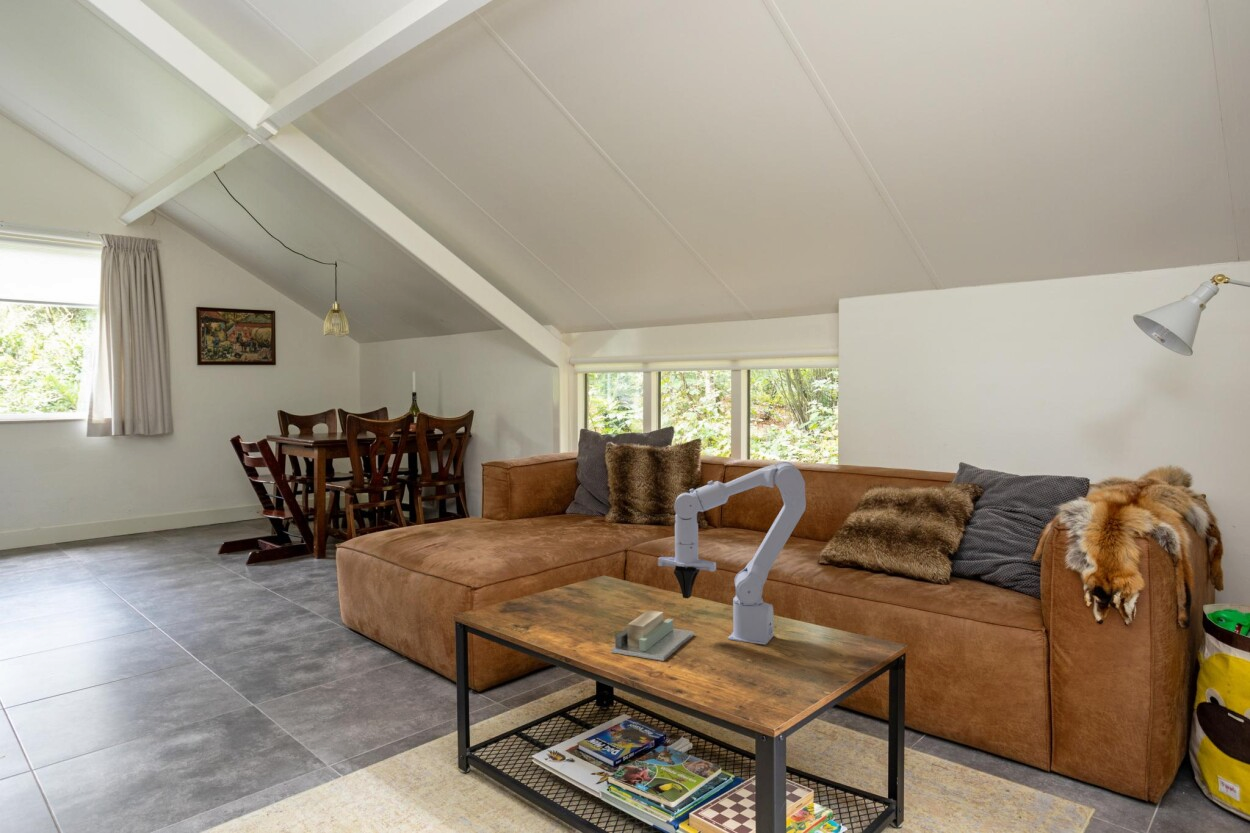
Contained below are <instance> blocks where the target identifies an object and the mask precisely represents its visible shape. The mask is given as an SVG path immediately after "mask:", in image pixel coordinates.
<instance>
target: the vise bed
mask: <svg viewBox="0 0 1250 833" xmlns="http://www.w3.org/2000/svg"><path fill="white" fill-rule="evenodd" d="M694 635H695V634H694V630H687V629H682V628H681V629H680V628H676V627H675V628H674V629H673V630H672V631H671V632H669V633H668V634H667V635H666V636H664V637H663V638H662V639H661V640H659V641H658V642H657V643H655V644H654V645H653V646H652V647H650V648H649V649H648V650H647V651H639V647H634V646H628V631H627V627H626V628H625V629H623V630H622V631H621V632H619V633H618V634H616V635H615V638H614V640H615V642H614V643H615V645H614V646H612V647H611V653H612V654H618V655H619V654H620V655H624V656H625V655H626V656H631V657H637V658H642V659H649V660H655V661H660V662H661V661H662V662H664V661H665V660H666V659H667V658H669V657H670V656H671V655H672V654H674V653H675V652H676V651H677V650H678V649H679V648H680V647H682V646H683V645H684V644H685V643H687V641H689V640H690V639H691V638H692V637H693V636H694Z"/></svg>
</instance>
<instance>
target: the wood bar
mask: <svg viewBox="0 0 1250 833" xmlns="http://www.w3.org/2000/svg"><path fill="white" fill-rule="evenodd" d="M663 622H664V612H663V611H658V610H650V609H649V610H646V611H645V612H644V613H642V614H640V615H639V616H638V617H635V619H633V620H632V621H630V622H629V623H627V625H626V626H627V627H626V628H627V631H628V646H634V647H639V639H641V638H642V637H644V636H645V635H646V634H648V633H649V632H650V631H652V630H653V629H654V628H656V627H657V626H658V625H660V624H661V623H663Z"/></svg>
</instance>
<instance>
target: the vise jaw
mask: <svg viewBox="0 0 1250 833" xmlns="http://www.w3.org/2000/svg"><path fill="white" fill-rule="evenodd" d="M673 629H674V619H673V618H667V619H665V620H663V623H661V624H660V625H658V626H657V627H656V628H654V629H653V630H652V631H650V632H649V633H648V634H646V635H645V636H644V637H642V638H641V639H639V651H647V650H648V649H649V648H650V647H652V646H653V645H654V644H655V643H657V642H658V641H659V640H661V639H662V638H663V637H664V636H666V635H667V634H668V633H669V632H671V631H672V630H673Z"/></svg>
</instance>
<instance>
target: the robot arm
mask: <svg viewBox="0 0 1250 833" xmlns="http://www.w3.org/2000/svg"><path fill="white" fill-rule="evenodd" d="M774 484H775V486H776V487H777V488H778V490H779V491H780V495H781V499H782V501H783V506H782V507H781V510H780V511H779V513H778V514H777V516H776V517H775V519H774V521H773V522H772V524H771V526H770V528H769V530H768V531H767V533H766V535H765V537H764V538H763V540H762V542H761V544H760V545H759V546H758V548H757V550H756V552H755V554H754V555H753V557H752V559H751V560H750V561H749V562H747V564H746V565H745V567H744V568H743V569H742V570H741V571H739V572H737V573H736V575H735V577H734V582H733V584H734V586H735V596H734V597H733V598H732V602H733V604H732V606H733V607H732V608H733V609H732V610H733V612H732V616H733V621H732V622H733V623H732V624H733V626H732V628H733V630H732V631H733V632H731V634H730V635H729V636H728V637H727V639H728V640H730V641H735V642H736V641H737V642H744V643H752V644H758V645H767V644H768V643H769V642H770V641H771V639H772V638H773V637H774V636H775V633H774V606H773V604H772V603H769V602H768V603H766V602H765V601H764V599H763V597H762V596H763V588H764V585H765V584H766V582H767V578H768V575H769V572H770V570H771V568H772V567H773V565H774V563H776V560H777V559H778V558H779V555H780V554H781V551H782V550H783V548H784V546H785V544H786V543H787V541H788V540H789V538H790V536H791V535H792V532H793V531H794V529H795V528H796V526H797V524H798V523H799V521H800V519H801V518H802V516H803V514H804V512H806V508H807V504H806V502H807V499H806V481H805V479H804V478H803V475H802V473H801V471H800V470H799V469H798V468H797V467H796V466H795V465H794V464H793V463H791V462H789V461H781V462H779V463H777V464H776V465H775V464H770V465H767V466H764V467H760V468H759V469H756V470H754V471H751V472H749V473H747V474H744V475H742V476H740V477H738V478H735V479H733V480H730V481H728V482H725V483H724V482H722V481H718V480H715V481H714V480H710V481H707V484H706V485H704V486H701V487H697V488H696V489H695V488H690V489H689V492H682V493H681V494H679V495H678V496H677V497H676V498H675V501H674V506H673V509H674V512H675V515H674V520H675V522H674V556H659V557H658V558H657V566H658V567H663V566H664V567H673V568H674V570H673V574H674V576H675V578H676V579H677V582H678V584H679V587H680V591H681V594H682V598H683V599H689V598H691V597H692V592H693V588H694V585H695V581H696V580H697V576H698V575H699V573H700V570H702V571H703V570H704V571H709V572H715V571H716V570H717V562H716V561H711V560H706V559H702V558H699V524H698V513H699V512H702V513H704V512H705V511H709V510H710V509H711V510H712V509H714V508H716V507H719V506H722V505H724V504H727V503H728V501H729V500H728V499H729V497H730V496H733V495H736V494H739V493H742V492H745V491H747V490H751V489H753V488H757V487H761V486H762V487H766V488H767V487H768V488H771V489H773V488H774Z"/></svg>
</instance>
